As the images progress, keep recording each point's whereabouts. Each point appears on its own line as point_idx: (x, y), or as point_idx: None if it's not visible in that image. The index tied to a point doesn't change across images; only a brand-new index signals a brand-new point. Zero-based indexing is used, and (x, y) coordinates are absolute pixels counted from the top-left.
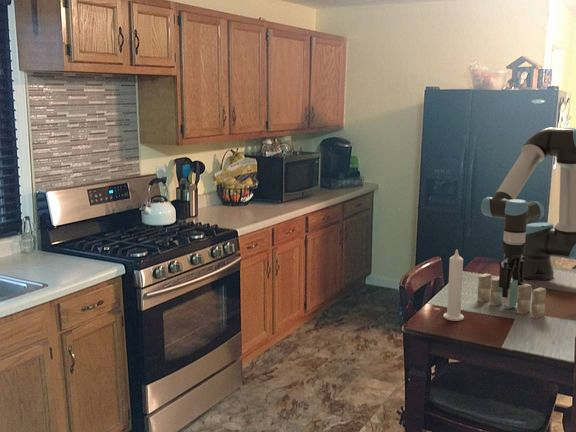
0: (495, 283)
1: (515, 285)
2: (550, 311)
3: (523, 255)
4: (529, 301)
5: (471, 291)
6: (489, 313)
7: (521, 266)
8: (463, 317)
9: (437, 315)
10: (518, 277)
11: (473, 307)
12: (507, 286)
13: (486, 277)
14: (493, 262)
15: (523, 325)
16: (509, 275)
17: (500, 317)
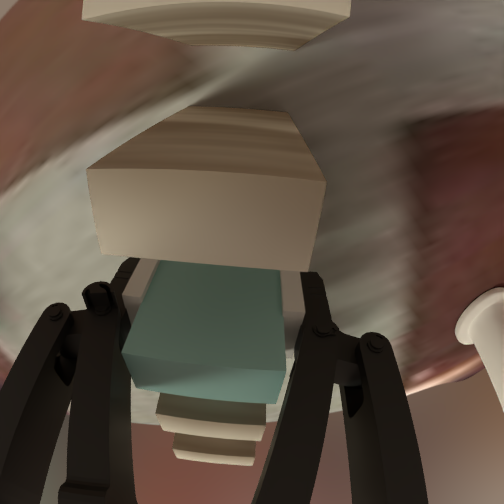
0: (264, 406)
1: (176, 317)
2: (93, 33)
3: None
4: (183, 118)
5: None
6: (391, 256)
7: (14, 462)
8: (496, 293)
9: None
10: (107, 377)
11: (350, 330)
12: (336, 345)
13: (226, 448)
14: None
15: (456, 52)
16: (317, 462)
17: (419, 192)
